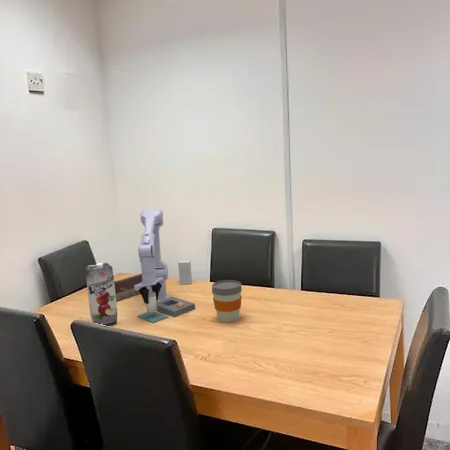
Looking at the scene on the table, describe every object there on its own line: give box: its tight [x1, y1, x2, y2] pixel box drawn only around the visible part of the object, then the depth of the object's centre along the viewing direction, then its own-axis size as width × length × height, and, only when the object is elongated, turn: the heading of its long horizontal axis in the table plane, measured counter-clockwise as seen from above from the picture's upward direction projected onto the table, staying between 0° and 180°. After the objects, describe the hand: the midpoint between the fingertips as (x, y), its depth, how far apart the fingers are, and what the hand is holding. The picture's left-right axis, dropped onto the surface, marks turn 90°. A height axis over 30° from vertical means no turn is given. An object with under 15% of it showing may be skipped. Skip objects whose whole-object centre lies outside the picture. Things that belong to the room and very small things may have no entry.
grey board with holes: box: [156, 296, 196, 318], centre depth 213 cm, size 16×12×2 cm
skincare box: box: [177, 260, 193, 285], centre depth 250 cm, size 6×4×12 cm
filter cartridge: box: [145, 291, 158, 312], centre depth 204 cm, size 4×4×8 cm
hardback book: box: [114, 273, 147, 303], centre depth 244 cm, size 29×19×5 cm, turn 135°
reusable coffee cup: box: [211, 279, 243, 323], centre depth 197 cm, size 13×13×15 cm
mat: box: [136, 311, 169, 324], centre depth 205 cm, size 12×8×1 cm, turn 46°
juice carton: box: [85, 262, 118, 326], centre depth 198 cm, size 9×10×27 cm
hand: (151, 301), depth 204 cm, fingers closed on filter cartridge, 4 cm apart
